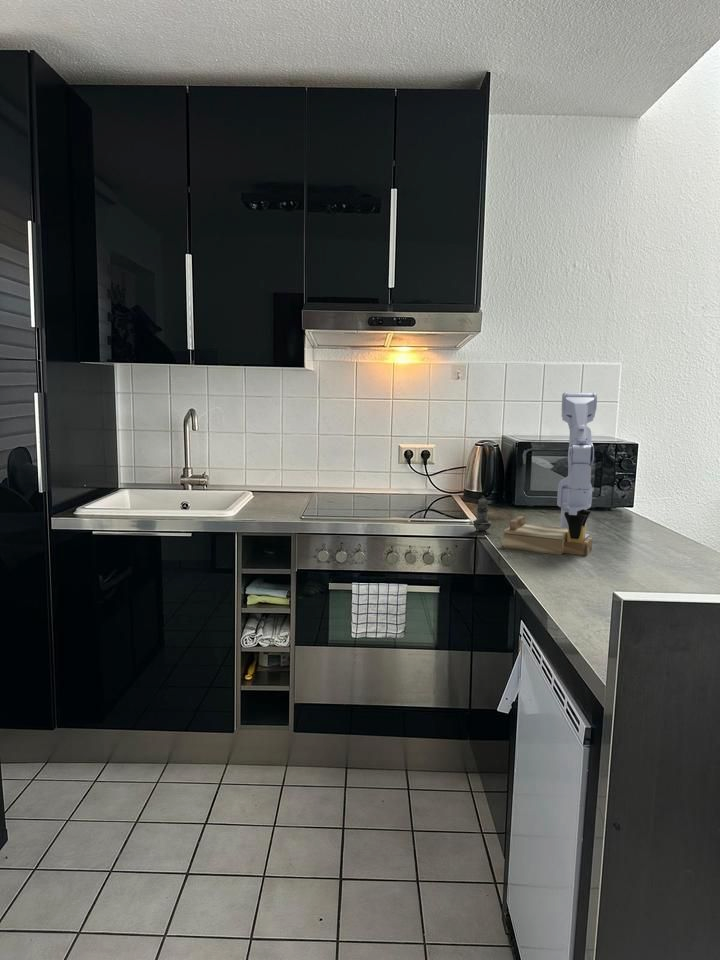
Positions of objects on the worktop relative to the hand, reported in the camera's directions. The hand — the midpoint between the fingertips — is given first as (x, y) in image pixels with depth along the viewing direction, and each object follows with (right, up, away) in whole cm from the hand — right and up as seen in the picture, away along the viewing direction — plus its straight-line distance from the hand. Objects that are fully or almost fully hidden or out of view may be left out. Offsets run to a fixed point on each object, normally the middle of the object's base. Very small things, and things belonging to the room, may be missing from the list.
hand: (576, 537), depth 181 cm
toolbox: (-7, -3, +4) cm, 8 cm away
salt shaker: (-22, -1, +24) cm, 33 cm away
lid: (-9, +1, +5) cm, 11 cm away
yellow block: (0, -4, +1) cm, 4 cm away
